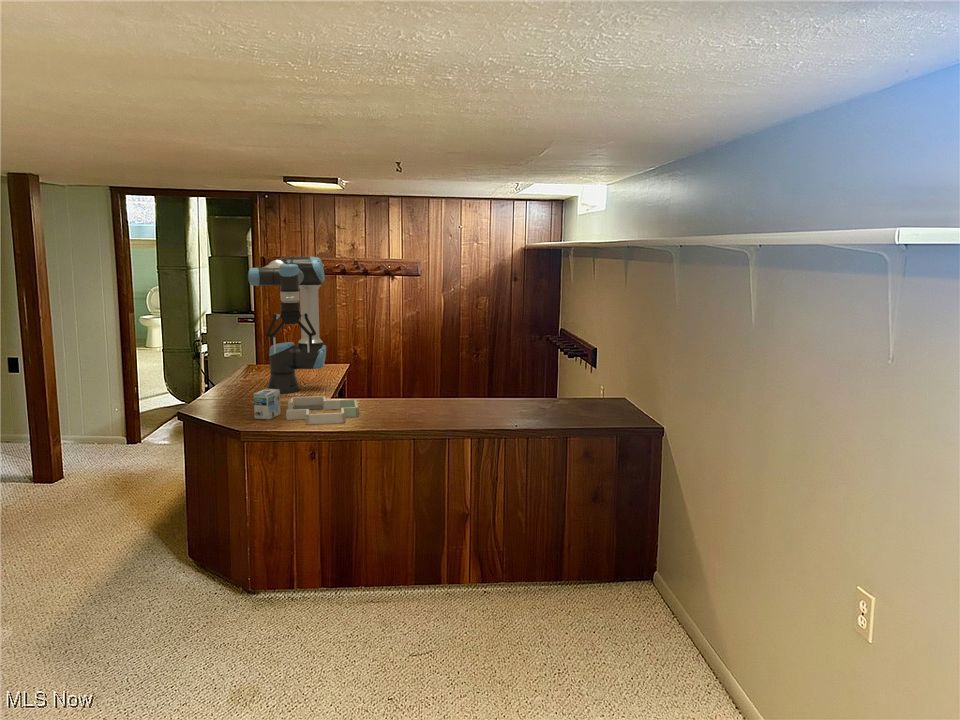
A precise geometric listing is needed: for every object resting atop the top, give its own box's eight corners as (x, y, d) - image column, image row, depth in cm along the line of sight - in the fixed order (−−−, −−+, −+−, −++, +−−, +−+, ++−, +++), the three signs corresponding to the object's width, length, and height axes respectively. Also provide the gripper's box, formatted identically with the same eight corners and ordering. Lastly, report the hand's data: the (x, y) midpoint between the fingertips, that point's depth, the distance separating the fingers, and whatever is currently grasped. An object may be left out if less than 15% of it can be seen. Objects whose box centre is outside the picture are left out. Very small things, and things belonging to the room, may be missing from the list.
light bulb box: (269, 419, 297) (268, 394, 295) (253, 418, 298) (252, 393, 296) (281, 413, 307) (280, 389, 305) (266, 412, 308) (265, 388, 306)
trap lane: (289, 406, 321) (288, 397, 320) (355, 403, 327) (355, 394, 326) (285, 425, 288) (285, 415, 287) (359, 422, 294) (359, 412, 293)
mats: (294, 406, 320) (294, 405, 320) (338, 404, 324) (338, 404, 324) (292, 424, 289) (292, 423, 289) (340, 422, 294) (340, 421, 294)
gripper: (258, 302, 292) (260, 354, 296) (321, 302, 298) (322, 352, 302) (259, 301, 299) (261, 351, 303) (320, 300, 306) (321, 350, 309)
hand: (291, 352), depth 302 cm, fingers open, 13 cm apart
